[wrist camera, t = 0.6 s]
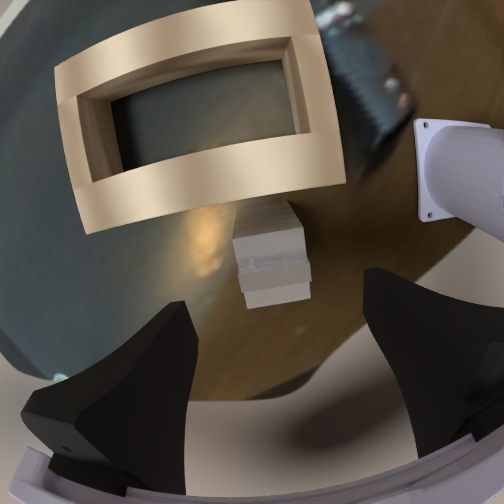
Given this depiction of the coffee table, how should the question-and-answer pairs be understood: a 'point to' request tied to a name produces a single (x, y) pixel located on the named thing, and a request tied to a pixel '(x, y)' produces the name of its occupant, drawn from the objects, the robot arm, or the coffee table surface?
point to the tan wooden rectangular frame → (186, 64)
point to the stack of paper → (271, 255)
